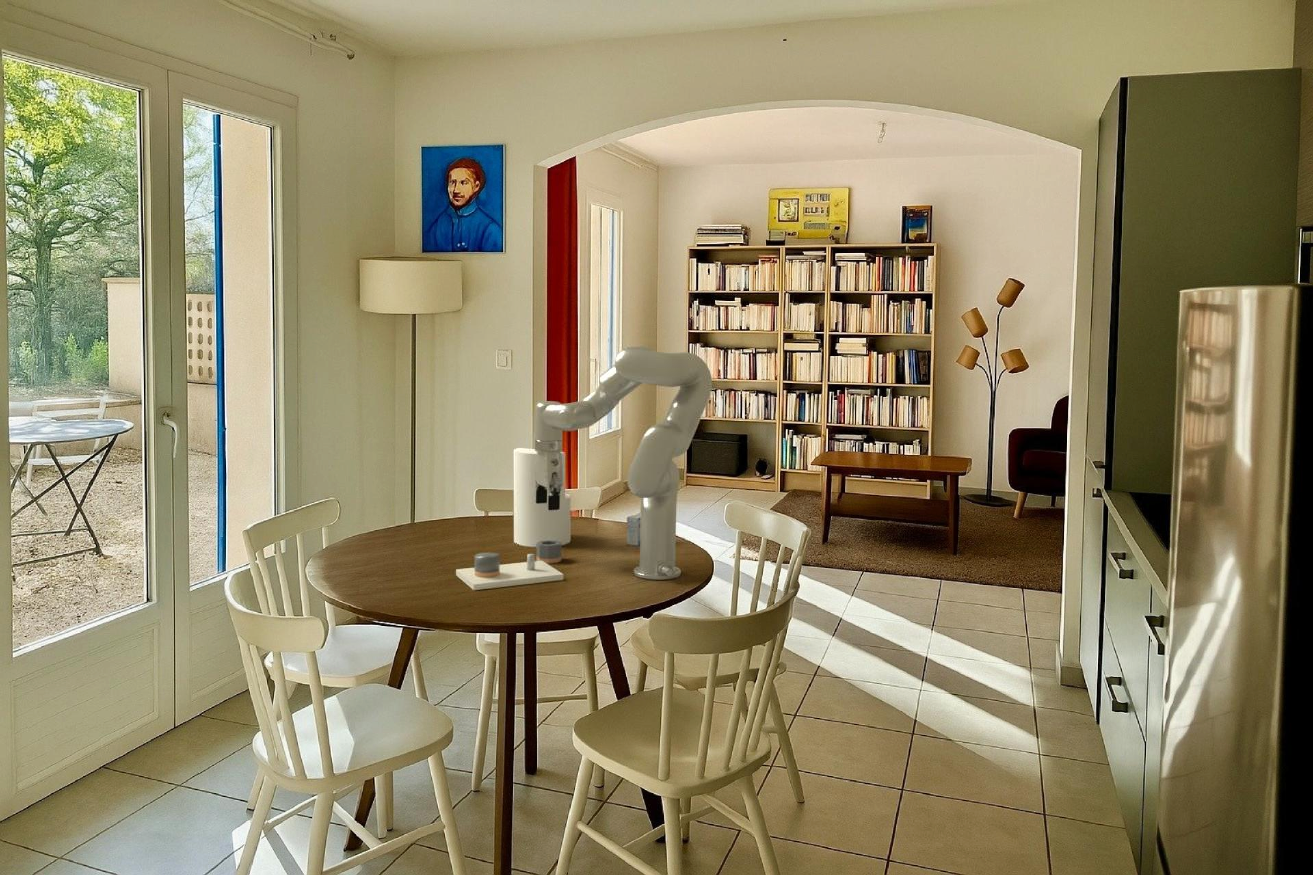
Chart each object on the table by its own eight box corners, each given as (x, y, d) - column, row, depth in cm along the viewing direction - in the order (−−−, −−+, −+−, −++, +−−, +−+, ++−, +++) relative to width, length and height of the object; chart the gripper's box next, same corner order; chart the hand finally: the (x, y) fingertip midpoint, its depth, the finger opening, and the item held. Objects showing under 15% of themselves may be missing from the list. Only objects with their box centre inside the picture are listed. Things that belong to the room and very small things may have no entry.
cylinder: (547, 549, 289) (547, 455, 286) (502, 542, 298) (501, 450, 295) (581, 539, 304) (582, 449, 301) (537, 532, 313) (537, 444, 310)
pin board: (563, 579, 256) (563, 555, 256) (473, 590, 246) (473, 564, 245) (541, 565, 270) (541, 542, 270) (456, 574, 260) (455, 550, 259)
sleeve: (563, 561, 275) (563, 544, 275) (542, 563, 272) (542, 546, 272) (555, 556, 281) (555, 539, 280) (534, 558, 278) (534, 541, 278)
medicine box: (637, 546, 295) (638, 518, 294) (626, 544, 298) (626, 516, 297) (653, 542, 301) (654, 514, 300) (642, 539, 304) (642, 512, 303)
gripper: (572, 449, 267) (571, 511, 269) (550, 441, 282) (549, 500, 284) (546, 450, 264) (545, 513, 266) (525, 442, 279) (524, 501, 281)
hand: (547, 506), depth 275 cm, fingers open, 9 cm apart
